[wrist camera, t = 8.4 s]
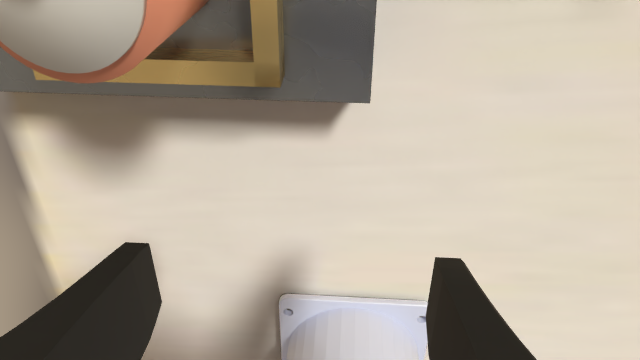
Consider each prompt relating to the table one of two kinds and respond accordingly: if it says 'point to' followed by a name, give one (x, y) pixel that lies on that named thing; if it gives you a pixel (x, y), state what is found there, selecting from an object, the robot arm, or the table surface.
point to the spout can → (89, 34)
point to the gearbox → (243, 55)
